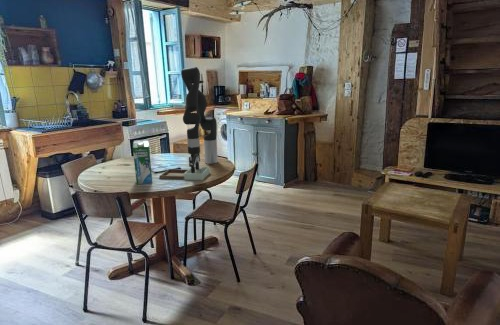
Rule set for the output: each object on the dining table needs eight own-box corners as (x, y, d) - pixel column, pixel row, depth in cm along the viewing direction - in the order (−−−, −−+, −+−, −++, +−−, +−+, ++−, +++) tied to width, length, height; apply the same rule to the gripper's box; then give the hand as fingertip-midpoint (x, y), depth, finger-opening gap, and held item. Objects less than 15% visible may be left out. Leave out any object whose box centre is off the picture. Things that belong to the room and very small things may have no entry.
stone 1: (193, 176, 221) (192, 169, 220) (200, 176, 220) (199, 169, 219) (191, 178, 216) (190, 171, 215) (198, 178, 216) (197, 171, 215)
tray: (169, 172, 233) (168, 169, 233) (192, 173, 231) (191, 169, 230) (159, 179, 218) (159, 175, 218) (184, 180, 216) (183, 176, 215)
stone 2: (196, 173, 227) (196, 167, 226) (203, 173, 227) (203, 167, 226) (194, 175, 223) (194, 168, 222) (201, 175, 222) (201, 168, 221)
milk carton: (136, 185, 208) (132, 143, 202) (137, 181, 217) (133, 141, 211) (152, 183, 210) (148, 142, 204) (152, 179, 219) (148, 140, 213)
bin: (192, 173, 230) (192, 166, 229) (209, 173, 229) (209, 167, 227) (184, 180, 215) (183, 173, 214) (202, 180, 213) (202, 173, 212)
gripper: (191, 143, 221) (193, 168, 225) (183, 147, 207) (185, 174, 211) (202, 143, 220) (204, 168, 223) (196, 147, 206) (197, 174, 210)
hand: (195, 171), depth 217 cm, fingers open, 8 cm apart
